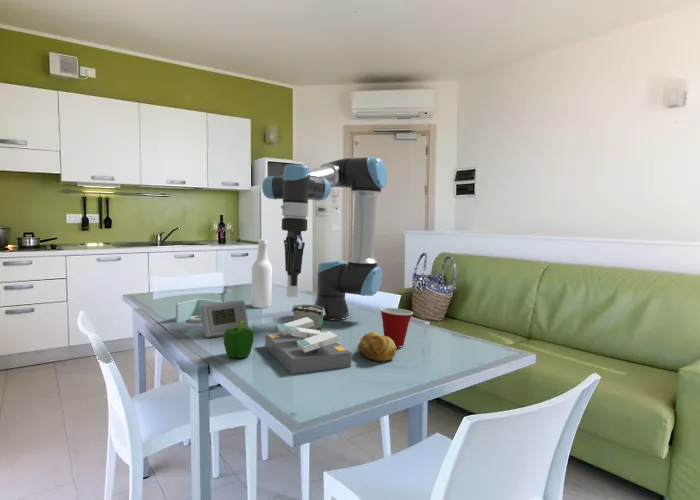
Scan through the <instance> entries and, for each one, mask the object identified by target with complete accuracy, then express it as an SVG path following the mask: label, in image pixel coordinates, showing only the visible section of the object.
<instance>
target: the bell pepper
mask: <svg viewBox="0 0 700 500" xmlns="http://www.w3.org/2000/svg"><path fill="white" fill-rule="evenodd" d="M244 323H245V321H241V322H240V323H239V325H238V327H235V328H233V329H226V331H225V333H224V336H223V345H224V350H225V353H226V355H227V357H229V358H231V359H234V358H237V359H245V358H247V357H249V356H250V354H251V351H252V347H253V343H254V333H253V330H251V328H250V327H249V326H248V327H245V328H241V327H242V324H244Z"/></svg>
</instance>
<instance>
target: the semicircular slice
mask: <svg viewBox="0 0 700 500" xmlns="http://www.w3.org/2000/svg"><path fill="white" fill-rule="evenodd" d="M291 312H292V313H293V321H295V320H299V319H302V318H305V317H308V318H309V319H311V320H313V321H314V326H312V327H309V328H306V329H313V330H315V329H316V330H319V331H320V332H322V328H323V322H324V320H323V316H325V310H324V308H323V307H321V306H317V305H315V304H298V305H293V307H292V309H291Z"/></svg>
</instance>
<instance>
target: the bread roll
mask: <svg viewBox="0 0 700 500" xmlns="http://www.w3.org/2000/svg"><path fill="white" fill-rule="evenodd" d="M357 349H358V351H359V353H360V354H362V355H363V356H364V357H365V358H367V359H368V360H370V361H373V360H374V361H373V362H378V361H382V362H387V361H390V360H392V359H394V357H395V356H396V354H397V348H396V346H395V344H394V341H393V340H392V339H391V338H390V337H387V336H384V335H381V334H380V333H376V332H372V331H371V332H368V333H365V334H363V336H362V337H361V339H360V341H359V343H358V344H357ZM386 360H387V361H386Z"/></svg>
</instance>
